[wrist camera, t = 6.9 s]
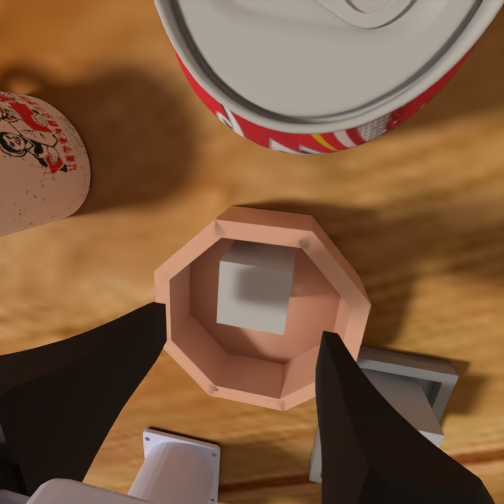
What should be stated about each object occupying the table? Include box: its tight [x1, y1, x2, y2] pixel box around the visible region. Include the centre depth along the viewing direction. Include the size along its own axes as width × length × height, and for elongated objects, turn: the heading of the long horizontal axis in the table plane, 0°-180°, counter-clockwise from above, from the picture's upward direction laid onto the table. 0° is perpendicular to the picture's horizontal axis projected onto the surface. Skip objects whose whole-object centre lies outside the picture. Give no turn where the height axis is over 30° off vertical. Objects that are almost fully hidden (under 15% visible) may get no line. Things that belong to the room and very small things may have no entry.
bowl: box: [154, 206, 371, 411], centre depth 20 cm, size 13×13×4 cm
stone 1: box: [217, 239, 296, 335], centre depth 18 cm, size 4×4×4 cm
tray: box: [309, 346, 459, 483], centre depth 23 cm, size 14×8×1 cm, turn 176°
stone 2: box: [361, 368, 444, 448], centre depth 20 cm, size 4×4×4 cm
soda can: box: [154, 0, 504, 155], centre depth 10 cm, size 7×7×13 cm
